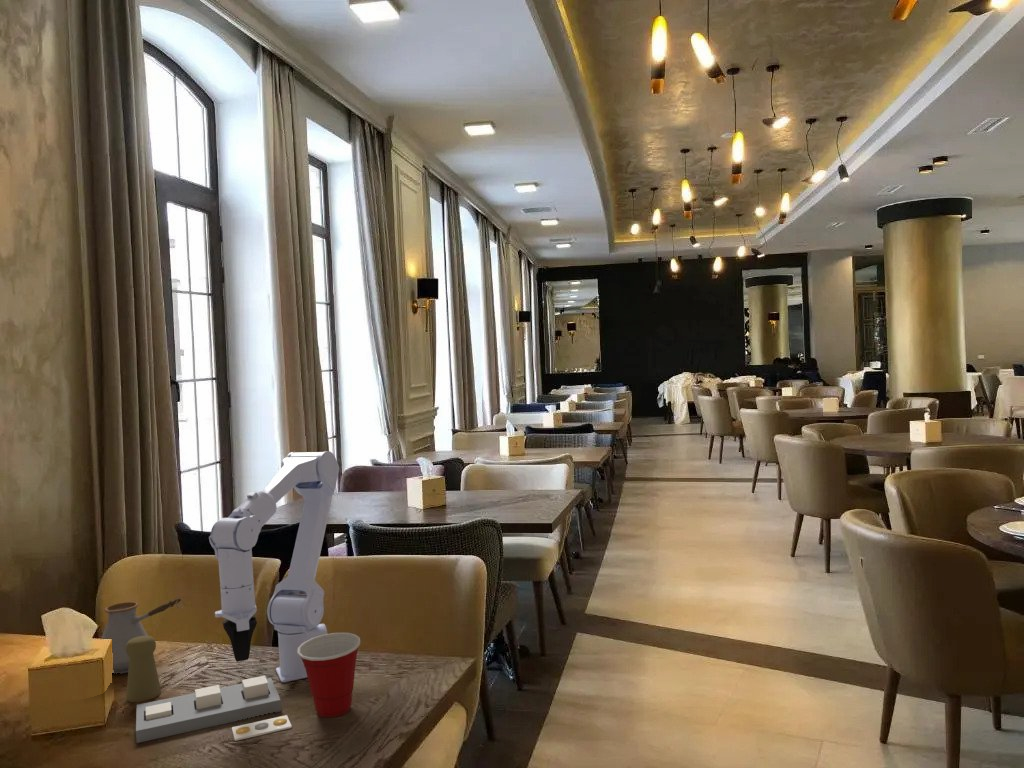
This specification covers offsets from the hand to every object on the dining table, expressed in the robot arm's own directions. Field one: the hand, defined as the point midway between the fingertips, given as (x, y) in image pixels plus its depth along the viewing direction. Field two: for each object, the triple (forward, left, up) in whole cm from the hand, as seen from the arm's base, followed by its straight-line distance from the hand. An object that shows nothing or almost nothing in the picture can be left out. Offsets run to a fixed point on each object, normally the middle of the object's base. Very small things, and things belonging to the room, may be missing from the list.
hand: (242, 659), depth 142 cm
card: (-1, +12, -8) cm, 14 cm away
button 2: (-2, 0, -7) cm, 7 cm away
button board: (+6, 0, -8) cm, 10 cm away
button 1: (+14, 0, -8) cm, 16 cm away
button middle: (+6, 0, -7) cm, 9 cm away
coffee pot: (+17, -32, -9) cm, 37 cm away
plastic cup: (-13, +11, -9) cm, 19 cm away
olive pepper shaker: (+17, -16, -9) cm, 24 cm away
